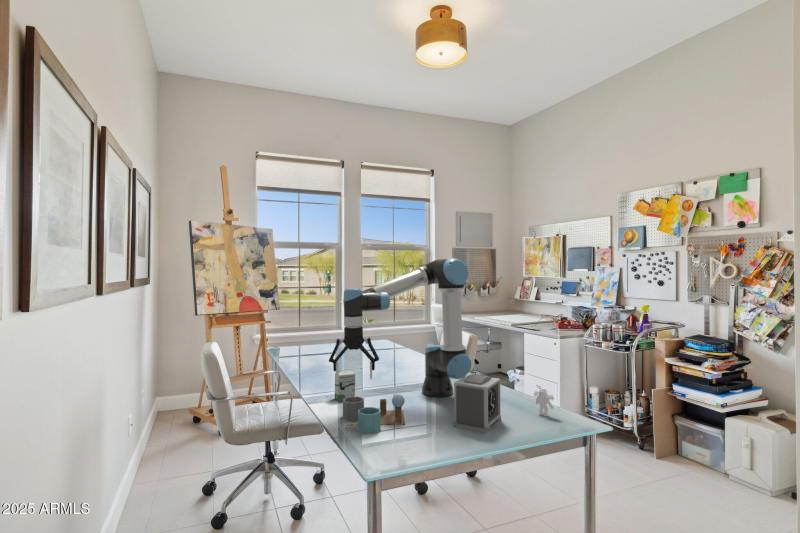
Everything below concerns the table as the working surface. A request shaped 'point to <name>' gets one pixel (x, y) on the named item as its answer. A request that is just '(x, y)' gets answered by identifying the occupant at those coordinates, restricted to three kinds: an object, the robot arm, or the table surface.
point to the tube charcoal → (352, 407)
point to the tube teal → (369, 420)
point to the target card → (351, 425)
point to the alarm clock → (476, 403)
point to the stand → (391, 415)
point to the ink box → (345, 385)
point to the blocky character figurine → (543, 400)
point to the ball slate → (398, 400)
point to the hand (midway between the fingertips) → (354, 378)
